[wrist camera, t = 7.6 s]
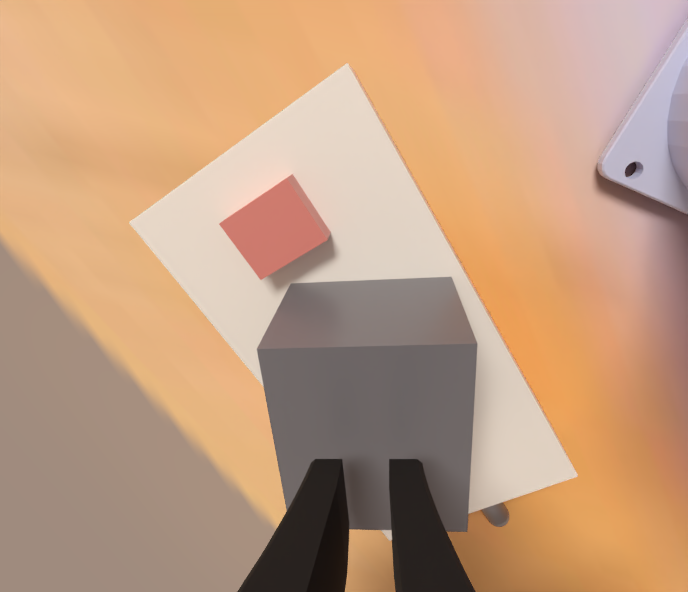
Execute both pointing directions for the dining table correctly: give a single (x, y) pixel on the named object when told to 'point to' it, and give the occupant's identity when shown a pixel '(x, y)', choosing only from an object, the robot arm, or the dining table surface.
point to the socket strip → (342, 260)
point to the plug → (373, 389)
